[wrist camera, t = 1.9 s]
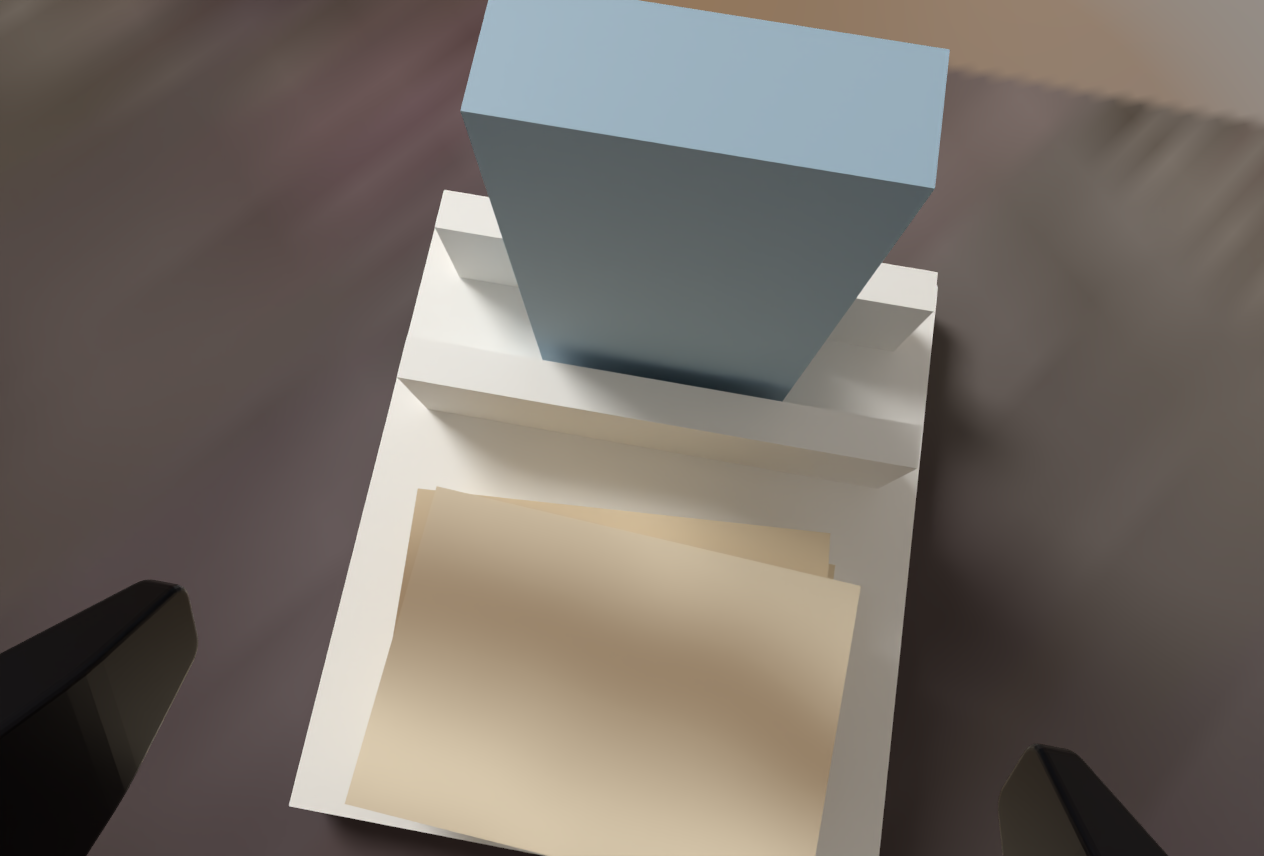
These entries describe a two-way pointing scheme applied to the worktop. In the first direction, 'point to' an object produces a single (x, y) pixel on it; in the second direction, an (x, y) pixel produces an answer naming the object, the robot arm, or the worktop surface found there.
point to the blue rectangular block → (696, 180)
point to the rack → (640, 483)
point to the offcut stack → (609, 681)
